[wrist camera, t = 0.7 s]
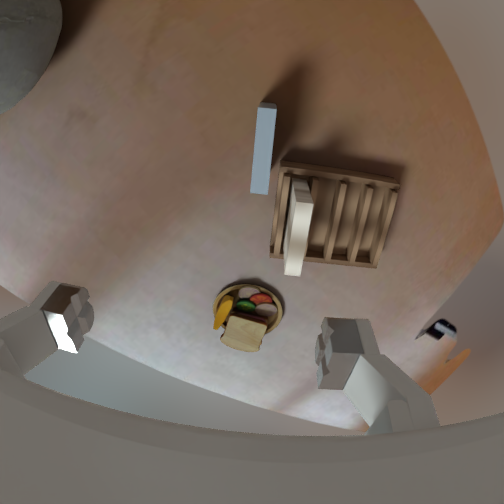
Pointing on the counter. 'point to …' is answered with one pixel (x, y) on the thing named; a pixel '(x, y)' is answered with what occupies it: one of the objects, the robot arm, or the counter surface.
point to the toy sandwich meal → (246, 315)
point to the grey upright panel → (263, 147)
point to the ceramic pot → (25, 45)
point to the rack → (330, 216)
